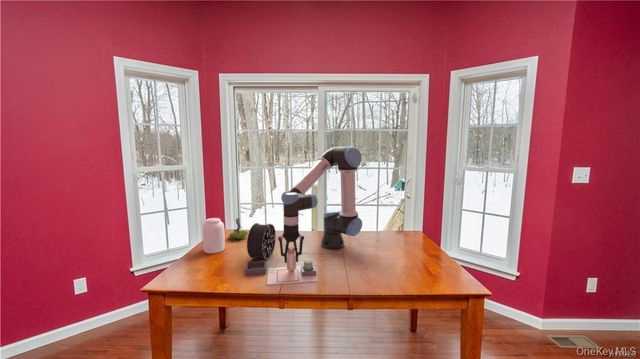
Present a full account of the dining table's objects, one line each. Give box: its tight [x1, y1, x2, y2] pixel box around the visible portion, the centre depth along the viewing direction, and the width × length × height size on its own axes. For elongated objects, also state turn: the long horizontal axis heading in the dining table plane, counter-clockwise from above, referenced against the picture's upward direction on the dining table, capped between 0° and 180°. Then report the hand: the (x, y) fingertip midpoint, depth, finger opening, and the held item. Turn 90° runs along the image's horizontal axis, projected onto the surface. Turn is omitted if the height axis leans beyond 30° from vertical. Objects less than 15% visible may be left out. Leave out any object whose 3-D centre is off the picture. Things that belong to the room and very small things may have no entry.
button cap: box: [303, 260, 314, 271], centre depth 136 cm, size 4×4×4 cm
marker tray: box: [244, 259, 267, 276], centre depth 140 cm, size 10×10×3 cm
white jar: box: [202, 217, 226, 255], centre depth 166 cm, size 12×12×20 cm
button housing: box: [300, 264, 317, 277], centre depth 137 cm, size 7×7×2 cm
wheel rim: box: [246, 222, 277, 260], centre depth 156 cm, size 20×9×20 cm, turn 168°
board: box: [266, 265, 318, 286], centre depth 135 cm, size 24×17×1 cm
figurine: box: [228, 217, 249, 240], centre depth 188 cm, size 14×13×15 cm
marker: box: [287, 246, 296, 272], centre depth 137 cm, size 3×3×12 cm
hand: (291, 268), depth 137 cm, fingers closed on marker, 3 cm apart
